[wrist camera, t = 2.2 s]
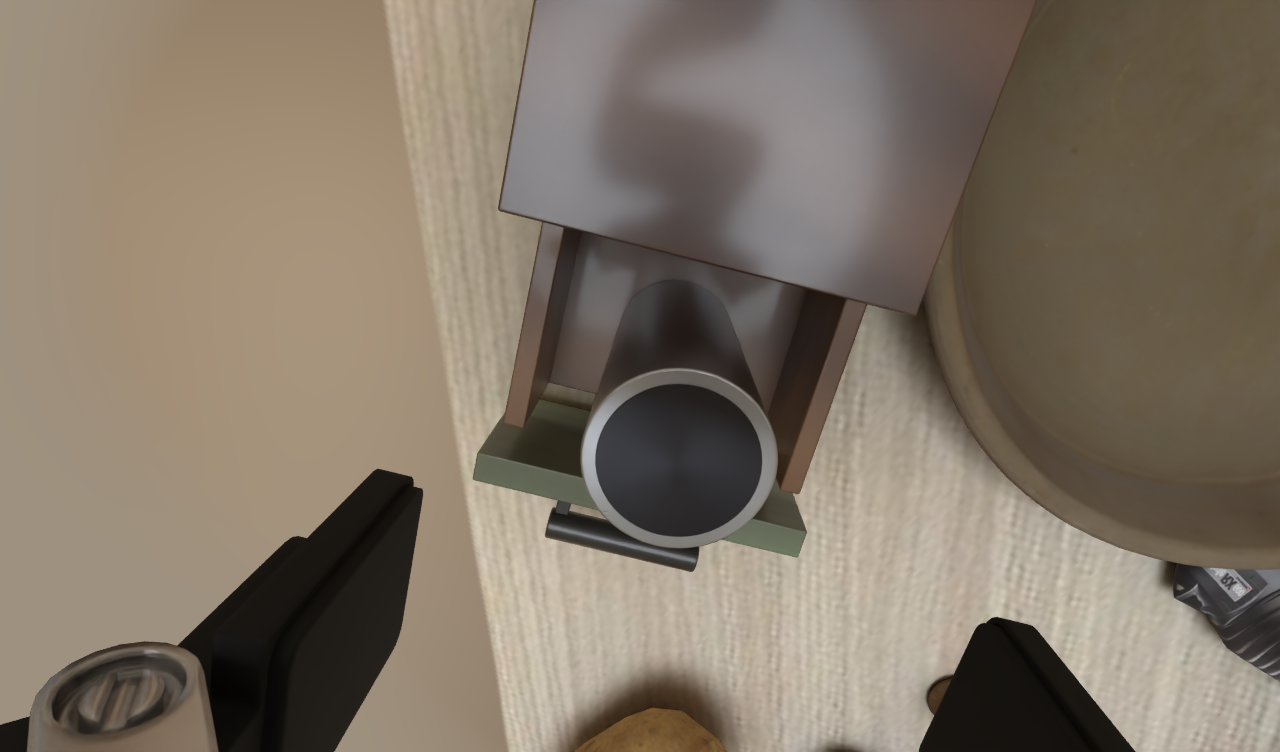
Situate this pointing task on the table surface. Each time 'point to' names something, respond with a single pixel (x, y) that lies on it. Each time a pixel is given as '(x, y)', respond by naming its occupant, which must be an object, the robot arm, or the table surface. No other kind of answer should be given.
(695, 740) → the potato
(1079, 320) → the plant saucer
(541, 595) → the table surface
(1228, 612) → the striped fish figurine
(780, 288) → the drawer
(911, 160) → the cabinet
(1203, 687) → the table surface
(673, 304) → the cylindrical container
